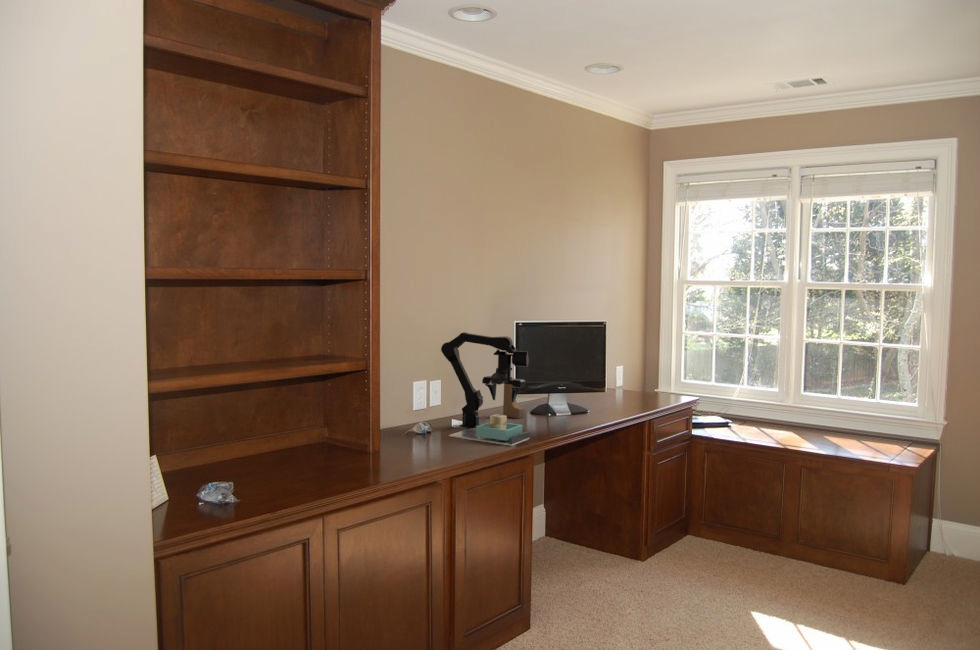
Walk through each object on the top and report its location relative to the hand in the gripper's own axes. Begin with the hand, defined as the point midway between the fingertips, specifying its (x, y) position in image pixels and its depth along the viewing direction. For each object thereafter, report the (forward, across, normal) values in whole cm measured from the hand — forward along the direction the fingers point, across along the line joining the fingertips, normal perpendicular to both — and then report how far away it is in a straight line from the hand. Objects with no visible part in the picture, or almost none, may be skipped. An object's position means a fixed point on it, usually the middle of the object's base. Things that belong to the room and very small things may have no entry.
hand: (503, 401), depth 331 cm
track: (+12, +4, -20) cm, 24 cm away
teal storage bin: (+12, +9, -20) cm, 25 cm away
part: (+10, +8, -20) cm, 24 cm away
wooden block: (+12, -9, +28) cm, 32 cm away
